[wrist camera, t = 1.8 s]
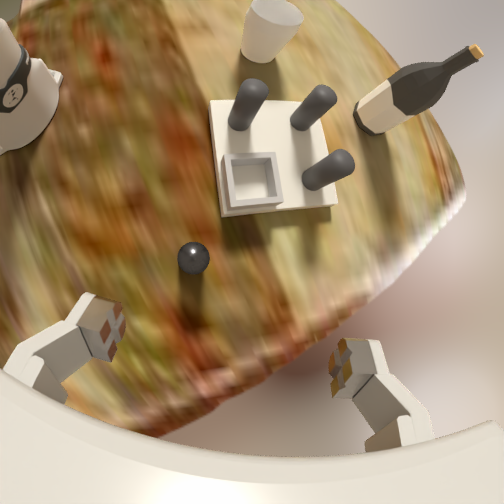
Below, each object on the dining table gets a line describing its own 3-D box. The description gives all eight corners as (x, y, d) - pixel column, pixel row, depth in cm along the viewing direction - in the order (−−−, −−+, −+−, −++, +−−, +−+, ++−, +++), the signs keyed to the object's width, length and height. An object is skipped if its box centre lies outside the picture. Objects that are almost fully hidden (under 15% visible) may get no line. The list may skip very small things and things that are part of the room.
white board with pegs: (221, 217, 39) (237, 201, 28) (208, 108, 39) (219, 65, 28) (330, 206, 44) (373, 191, 33) (309, 109, 44) (342, 76, 33)
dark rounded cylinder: (173, 260, 38) (171, 261, 29) (188, 240, 38) (190, 235, 29) (193, 275, 38) (197, 280, 29) (208, 255, 39) (216, 254, 30)
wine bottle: (385, 141, 48) (502, 84, 19) (354, 131, 46) (475, 55, 17) (380, 108, 48) (482, 44, 19) (349, 97, 46) (453, 17, 17)
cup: (280, 72, 43) (306, 32, 31) (232, 63, 40) (249, 19, 29) (279, 42, 43) (302, 3, 31) (235, 33, 41) (251, -9, 29)
